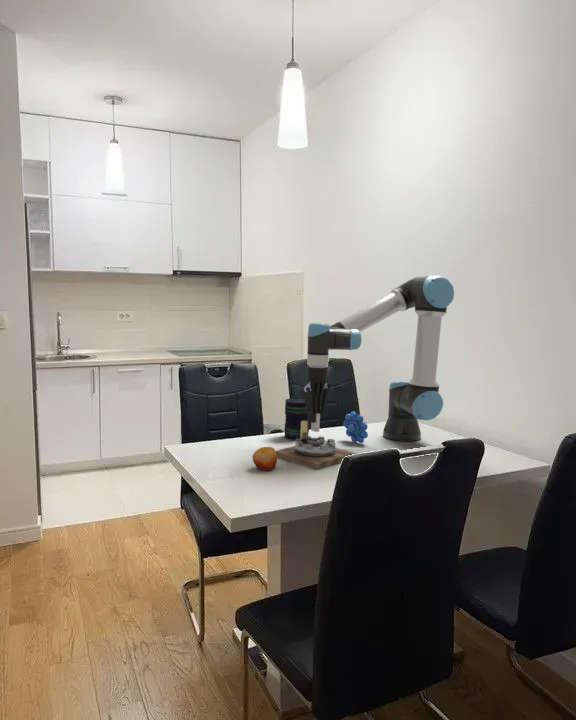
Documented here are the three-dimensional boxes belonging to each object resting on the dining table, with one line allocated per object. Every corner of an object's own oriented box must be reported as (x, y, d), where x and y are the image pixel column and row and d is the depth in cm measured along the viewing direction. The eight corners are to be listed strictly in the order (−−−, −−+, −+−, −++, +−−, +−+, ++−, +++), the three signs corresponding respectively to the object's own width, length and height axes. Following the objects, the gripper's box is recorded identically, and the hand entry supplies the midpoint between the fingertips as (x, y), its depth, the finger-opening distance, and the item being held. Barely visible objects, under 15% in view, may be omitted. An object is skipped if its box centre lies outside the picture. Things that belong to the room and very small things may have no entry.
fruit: (285, 462, 186) (279, 444, 181) (274, 479, 180) (267, 461, 176) (264, 458, 190) (258, 440, 185) (253, 474, 184) (246, 457, 180)
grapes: (336, 441, 221) (337, 410, 220) (347, 438, 226) (348, 408, 224) (359, 447, 213) (361, 415, 211) (370, 444, 217) (372, 413, 216)
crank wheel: (313, 443, 207) (314, 418, 206) (343, 451, 197) (344, 424, 196) (286, 450, 197) (287, 423, 196) (316, 459, 187) (317, 430, 186)
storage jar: (309, 440, 220) (310, 403, 219) (283, 440, 220) (284, 402, 219) (308, 434, 230) (309, 398, 228) (284, 434, 230) (285, 397, 229)
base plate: (312, 446, 211) (312, 440, 211) (355, 458, 197) (355, 451, 197) (274, 456, 197) (274, 449, 197) (317, 469, 183) (317, 462, 183)
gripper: (321, 364, 209) (319, 426, 212) (297, 366, 200) (295, 431, 202) (337, 366, 204) (334, 430, 206) (313, 368, 195) (310, 435, 197)
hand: (315, 430), depth 204 cm, fingers closed
